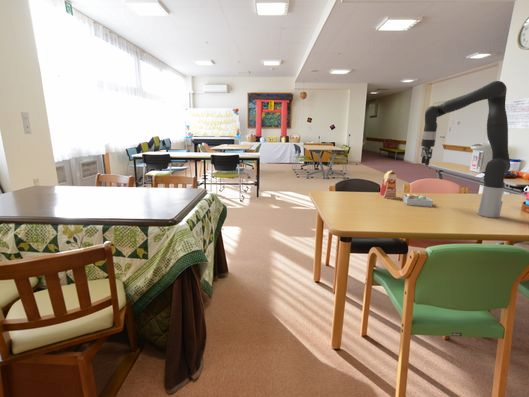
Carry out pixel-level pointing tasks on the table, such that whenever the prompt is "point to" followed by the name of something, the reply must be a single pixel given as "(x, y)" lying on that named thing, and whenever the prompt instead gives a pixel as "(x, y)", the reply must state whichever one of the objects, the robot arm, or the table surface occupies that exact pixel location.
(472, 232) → the table surface
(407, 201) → the bin
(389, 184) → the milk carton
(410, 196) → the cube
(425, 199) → the ball
